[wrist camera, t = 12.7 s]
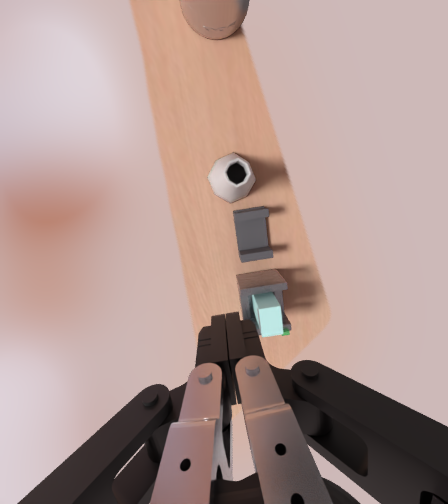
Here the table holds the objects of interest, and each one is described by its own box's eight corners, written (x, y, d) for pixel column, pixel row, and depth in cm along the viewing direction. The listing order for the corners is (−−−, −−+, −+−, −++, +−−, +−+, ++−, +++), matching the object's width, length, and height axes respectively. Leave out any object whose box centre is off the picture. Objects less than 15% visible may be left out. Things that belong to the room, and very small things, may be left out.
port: (236, 275, 40) (240, 291, 33) (275, 268, 40) (288, 283, 33) (242, 317, 42) (247, 341, 35) (280, 311, 42) (292, 334, 35)
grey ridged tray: (232, 210, 38) (234, 212, 34) (263, 206, 38) (268, 207, 34) (239, 257, 40) (241, 263, 36) (268, 253, 40) (273, 258, 36)
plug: (250, 286, 39) (258, 309, 32) (268, 284, 39) (281, 305, 32) (253, 310, 40) (262, 337, 33) (270, 307, 40) (283, 334, 33)
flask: (263, 180, 37) (281, 175, 27) (229, 211, 38) (234, 217, 28) (233, 143, 35) (240, 124, 26) (199, 176, 36) (193, 170, 27)
